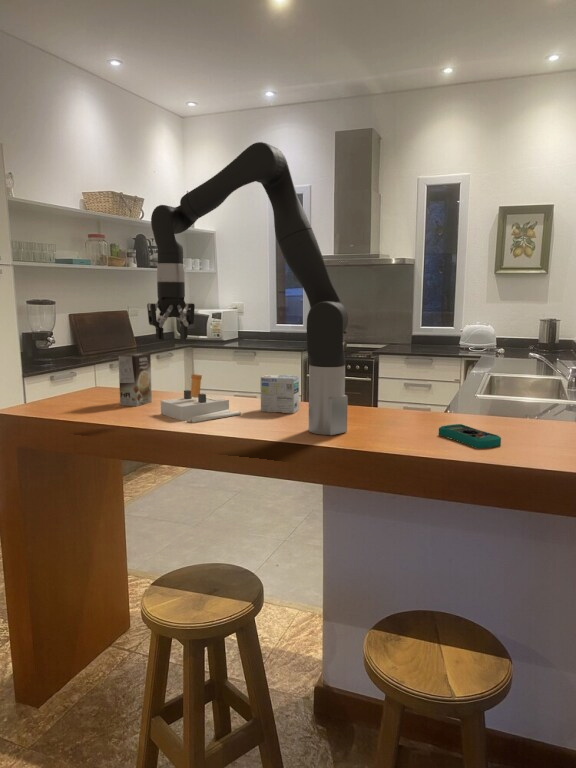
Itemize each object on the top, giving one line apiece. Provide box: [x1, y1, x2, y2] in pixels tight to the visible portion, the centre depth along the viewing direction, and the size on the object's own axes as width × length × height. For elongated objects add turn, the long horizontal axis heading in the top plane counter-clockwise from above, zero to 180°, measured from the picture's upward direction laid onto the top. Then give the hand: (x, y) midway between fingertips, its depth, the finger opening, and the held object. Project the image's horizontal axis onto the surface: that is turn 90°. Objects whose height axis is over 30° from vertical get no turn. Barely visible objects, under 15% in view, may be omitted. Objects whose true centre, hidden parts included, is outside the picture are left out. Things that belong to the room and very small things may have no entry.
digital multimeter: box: [438, 423, 502, 449], centre depth 138 cm, size 7×15×3 cm, turn 24°
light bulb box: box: [260, 374, 300, 414], centre depth 172 cm, size 11×7×11 cm, turn 76°
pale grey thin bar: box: [185, 408, 231, 423], centre depth 163 cm, size 1×16×1 cm, turn 141°
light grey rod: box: [192, 410, 242, 424], centre depth 161 cm, size 1×16×1 cm, turn 131°
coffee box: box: [118, 352, 153, 407], centre depth 183 cm, size 9×6×16 cm
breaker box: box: [160, 389, 230, 421], centre depth 168 cm, size 12×16×6 cm
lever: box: [190, 373, 203, 398], centre depth 167 cm, size 3×2×7 cm, turn 41°
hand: (172, 340), depth 160 cm, fingers open, 6 cm apart
